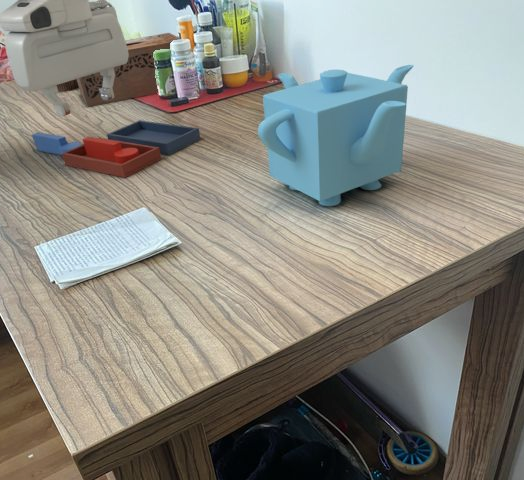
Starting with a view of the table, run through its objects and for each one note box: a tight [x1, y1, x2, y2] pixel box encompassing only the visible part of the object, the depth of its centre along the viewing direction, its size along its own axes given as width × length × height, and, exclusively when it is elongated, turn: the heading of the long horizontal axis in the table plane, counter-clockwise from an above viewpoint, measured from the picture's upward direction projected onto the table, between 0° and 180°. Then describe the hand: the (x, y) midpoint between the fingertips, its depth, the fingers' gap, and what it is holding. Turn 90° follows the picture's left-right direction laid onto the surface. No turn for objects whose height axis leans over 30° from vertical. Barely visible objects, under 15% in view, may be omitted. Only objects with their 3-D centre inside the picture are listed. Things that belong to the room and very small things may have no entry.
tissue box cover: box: [77, 32, 181, 108], centre depth 126 cm, size 26×14×10 cm, turn 112°
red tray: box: [61, 137, 162, 178], centre depth 89 cm, size 16×9×2 cm, turn 55°
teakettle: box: [257, 64, 415, 207], centre depth 68 cm, size 19×19×15 cm
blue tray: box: [106, 120, 202, 156], centre depth 95 cm, size 16×9×2 cm, turn 55°
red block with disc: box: [82, 136, 139, 164], centre depth 88 cm, size 12×4×3 cm, turn 54°
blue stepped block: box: [31, 131, 83, 156], centre depth 96 cm, size 12×4×3 cm, turn 55°
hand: (86, 107), depth 85 cm, fingers open, 8 cm apart
